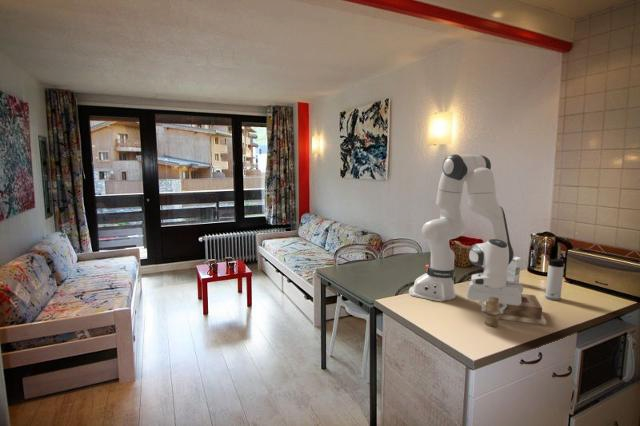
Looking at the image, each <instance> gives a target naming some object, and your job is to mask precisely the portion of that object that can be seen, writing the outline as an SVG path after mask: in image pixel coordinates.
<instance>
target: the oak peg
mask: <svg viewBox="0 0 640 426" xmlns="http://www.w3.org/2000/svg"><path fill="white" fill-rule="evenodd" d="M498 301H499V298H492V297H489V302H485V306H486V312H485V311H484V312H485V314H484V324H485V325H486V326H488V327H489V326H490V327H494V328H495V327H497V326H498V325H499V319H498V318H499V306H500V303H498Z"/></svg>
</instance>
